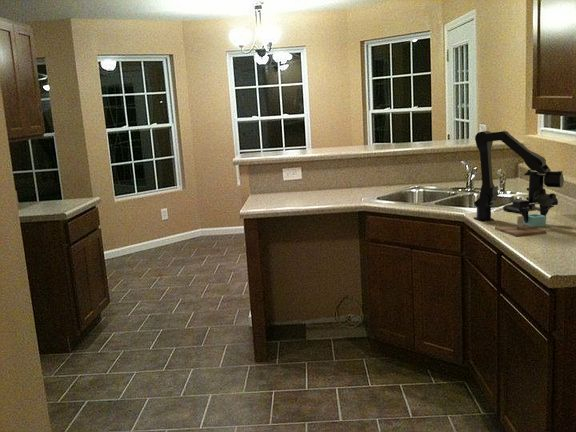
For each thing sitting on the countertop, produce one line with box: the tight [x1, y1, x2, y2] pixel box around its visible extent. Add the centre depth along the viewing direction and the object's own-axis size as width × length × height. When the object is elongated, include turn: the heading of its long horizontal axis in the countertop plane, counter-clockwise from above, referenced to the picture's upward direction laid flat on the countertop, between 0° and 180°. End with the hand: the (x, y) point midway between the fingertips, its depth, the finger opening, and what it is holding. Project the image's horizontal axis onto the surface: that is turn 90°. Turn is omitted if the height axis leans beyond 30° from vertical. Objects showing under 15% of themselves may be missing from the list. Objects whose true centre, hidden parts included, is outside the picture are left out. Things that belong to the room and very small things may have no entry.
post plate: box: [494, 215, 547, 237], centre depth 241 cm, size 14×14×6 cm
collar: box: [523, 213, 547, 228], centre depth 252 cm, size 6×6×4 cm
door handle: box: [502, 202, 540, 215], centre depth 283 cm, size 3×20×16 cm
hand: (534, 222), depth 253 cm, fingers open, 8 cm apart
